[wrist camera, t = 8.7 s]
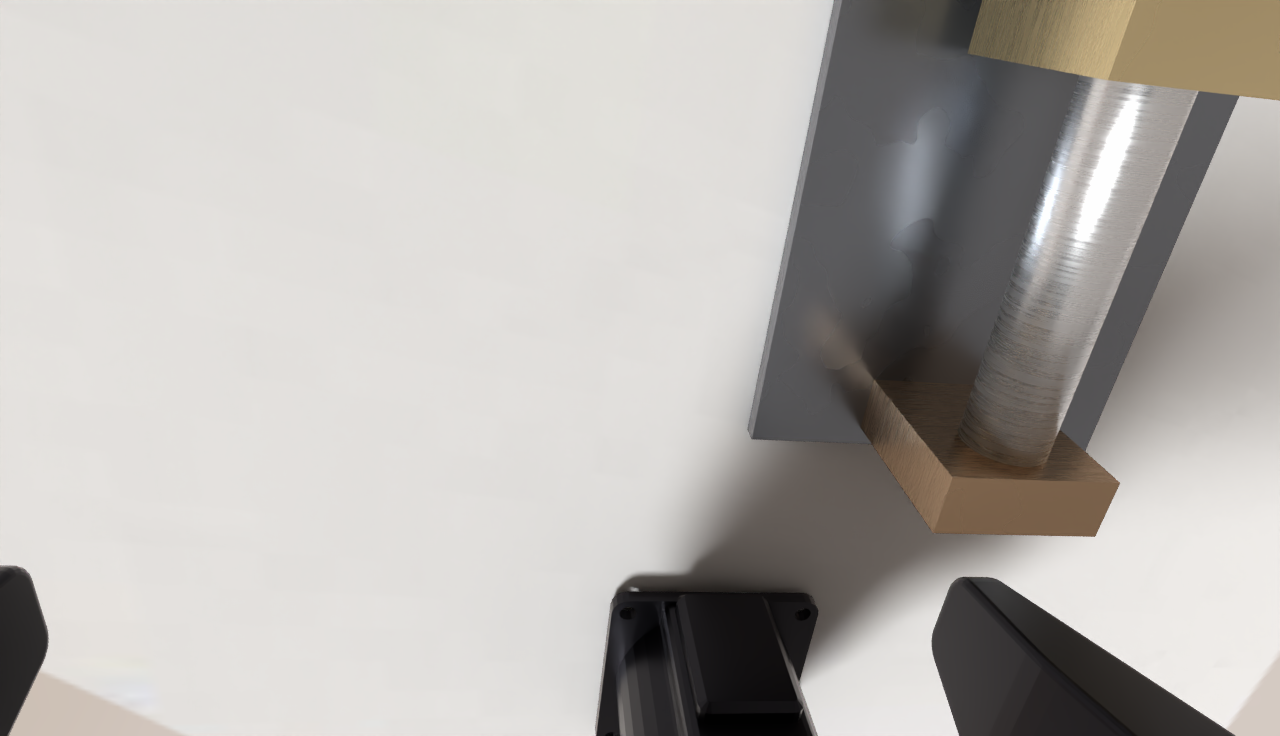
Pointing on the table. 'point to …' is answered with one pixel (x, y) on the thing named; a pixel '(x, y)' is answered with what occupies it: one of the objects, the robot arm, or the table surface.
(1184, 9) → the sleeve
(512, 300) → the table surface
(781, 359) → the pipe rig
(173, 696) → the table surface
